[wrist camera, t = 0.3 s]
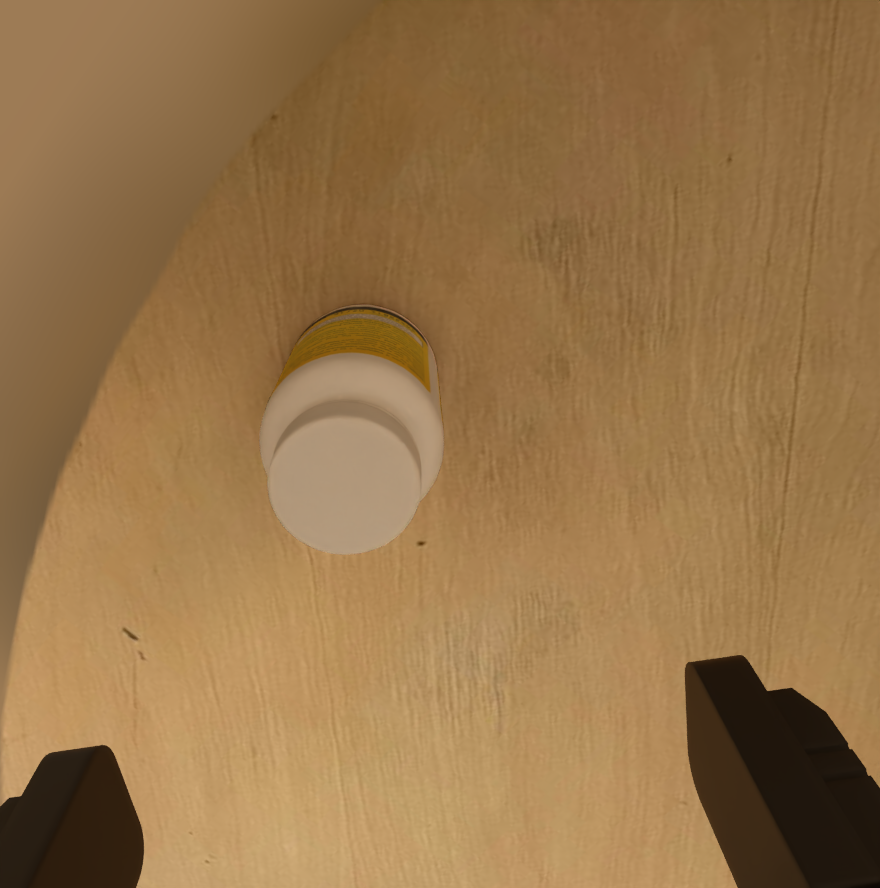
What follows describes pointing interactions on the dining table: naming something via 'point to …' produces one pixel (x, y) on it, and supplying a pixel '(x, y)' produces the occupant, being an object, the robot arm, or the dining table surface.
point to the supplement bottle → (353, 430)
